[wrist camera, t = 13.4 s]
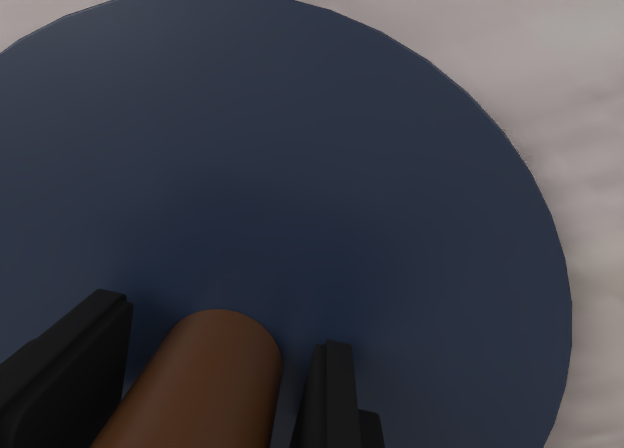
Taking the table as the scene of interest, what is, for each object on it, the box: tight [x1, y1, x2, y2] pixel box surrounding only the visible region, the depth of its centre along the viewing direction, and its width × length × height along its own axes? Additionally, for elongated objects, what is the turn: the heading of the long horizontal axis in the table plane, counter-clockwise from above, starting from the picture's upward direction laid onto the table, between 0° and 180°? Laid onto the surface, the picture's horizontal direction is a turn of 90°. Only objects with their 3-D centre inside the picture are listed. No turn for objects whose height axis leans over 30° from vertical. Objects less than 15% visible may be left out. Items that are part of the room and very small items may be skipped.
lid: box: [0, 0, 572, 448], centre depth 8 cm, size 16×16×7 cm
